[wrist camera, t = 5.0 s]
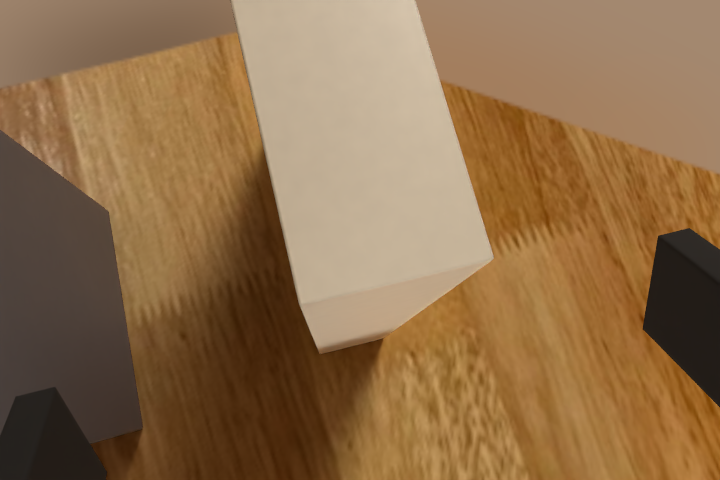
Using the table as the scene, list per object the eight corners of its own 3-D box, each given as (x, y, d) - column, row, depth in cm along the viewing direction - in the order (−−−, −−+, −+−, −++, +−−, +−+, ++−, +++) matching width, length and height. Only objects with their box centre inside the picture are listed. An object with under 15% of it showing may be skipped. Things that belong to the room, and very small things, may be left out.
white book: (328, 119, 28) (326, -293, 11) (384, 338, 26) (496, 258, 9) (268, 131, 28) (168, -272, 11) (319, 354, 26) (299, 306, 8)
